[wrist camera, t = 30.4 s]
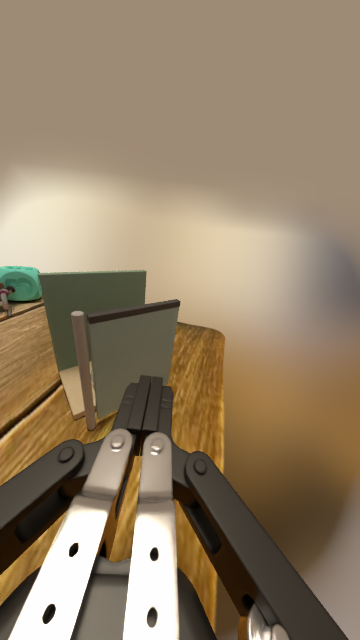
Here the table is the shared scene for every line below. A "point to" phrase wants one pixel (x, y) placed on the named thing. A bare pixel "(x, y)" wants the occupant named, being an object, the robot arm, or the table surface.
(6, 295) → the action figure
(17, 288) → the decorative dice
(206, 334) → the table surface
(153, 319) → the shower door
